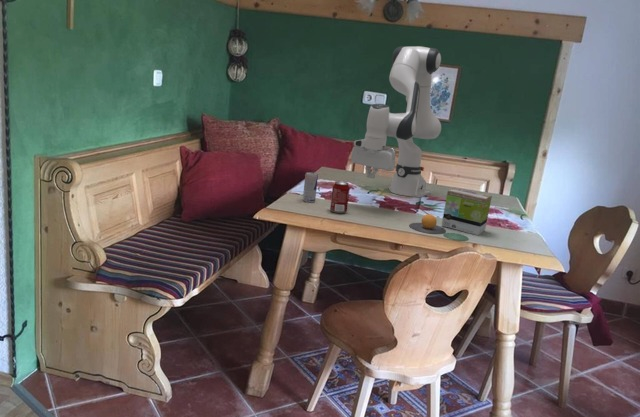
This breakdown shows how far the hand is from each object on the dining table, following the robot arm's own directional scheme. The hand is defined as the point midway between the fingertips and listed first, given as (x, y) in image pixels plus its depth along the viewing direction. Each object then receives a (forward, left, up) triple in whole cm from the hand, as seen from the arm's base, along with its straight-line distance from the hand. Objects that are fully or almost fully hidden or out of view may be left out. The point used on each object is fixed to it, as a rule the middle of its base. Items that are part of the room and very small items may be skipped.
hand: (370, 177), depth 215 cm
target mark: (+1, +30, -14) cm, 33 cm away
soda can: (+15, -3, -14) cm, 21 cm away
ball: (+1, +30, -11) cm, 32 cm away
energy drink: (+13, -21, -14) cm, 28 cm away
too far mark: (+1, +42, -14) cm, 44 cm away
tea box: (-13, +38, -14) cm, 42 cm away
